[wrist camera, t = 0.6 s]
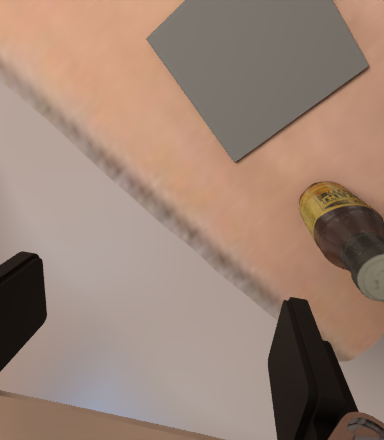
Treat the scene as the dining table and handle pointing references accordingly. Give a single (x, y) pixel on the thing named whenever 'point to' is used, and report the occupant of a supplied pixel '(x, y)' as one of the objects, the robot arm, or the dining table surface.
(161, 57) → the mat
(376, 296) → the sauce bottle
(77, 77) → the dining table surface
